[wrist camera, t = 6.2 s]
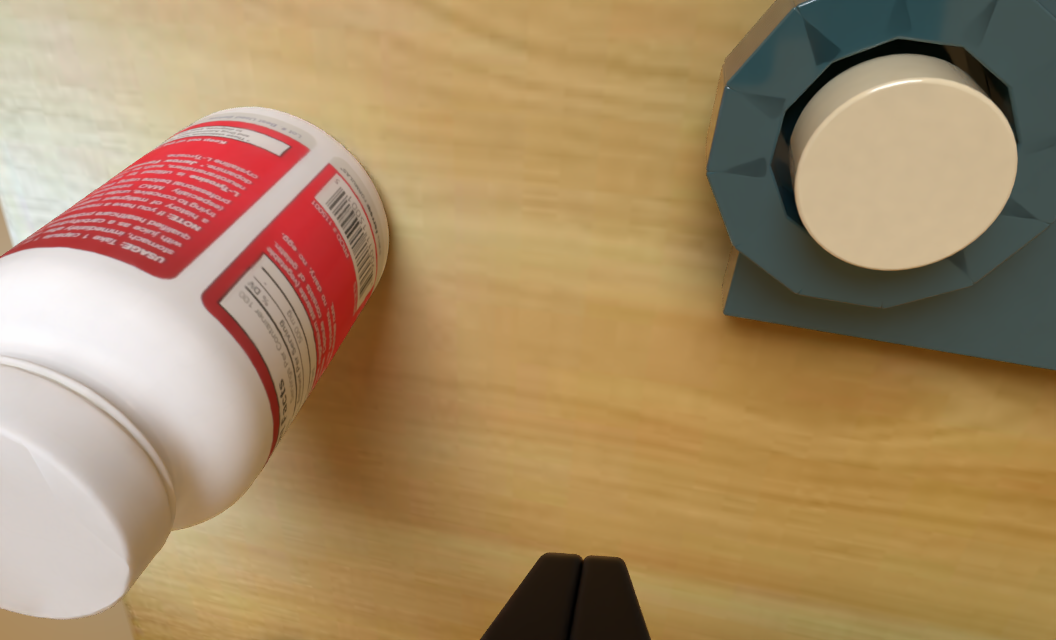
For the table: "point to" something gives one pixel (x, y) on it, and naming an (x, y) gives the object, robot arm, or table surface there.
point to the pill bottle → (170, 345)
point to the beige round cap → (900, 162)
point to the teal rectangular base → (904, 295)
